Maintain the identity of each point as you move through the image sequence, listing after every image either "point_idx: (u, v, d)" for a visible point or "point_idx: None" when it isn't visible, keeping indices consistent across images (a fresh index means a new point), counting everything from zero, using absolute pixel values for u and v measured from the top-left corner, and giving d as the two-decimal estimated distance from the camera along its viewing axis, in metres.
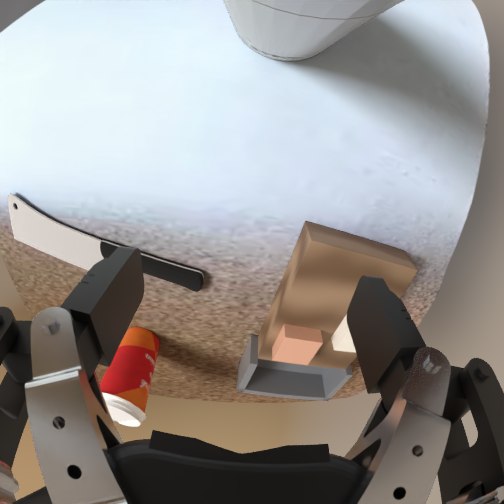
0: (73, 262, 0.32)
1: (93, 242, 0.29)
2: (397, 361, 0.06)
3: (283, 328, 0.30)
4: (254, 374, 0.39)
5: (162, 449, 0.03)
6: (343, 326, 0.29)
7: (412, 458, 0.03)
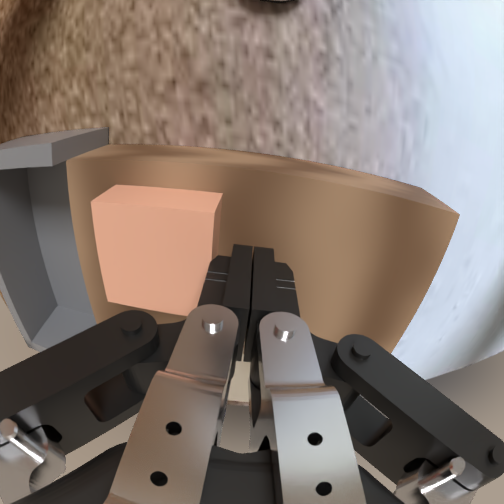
0: None
1: None
2: (257, 325, 0.07)
3: (212, 196, 0.10)
4: (11, 178, 0.12)
5: None
6: None
7: (313, 449, 0.03)
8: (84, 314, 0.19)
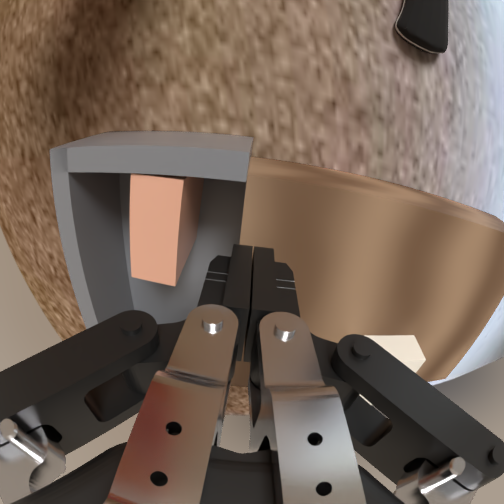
0: None
1: None
2: (257, 325, 0.07)
3: (173, 176, 0.09)
4: (105, 183, 0.12)
5: None
6: (398, 346, 0.13)
7: (314, 449, 0.03)
8: None
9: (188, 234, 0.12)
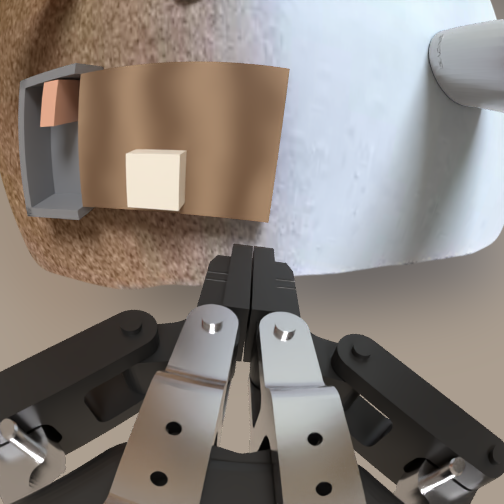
0: None
1: None
2: (257, 325, 0.07)
3: (56, 80, 0.16)
4: None
5: None
6: (164, 151, 0.20)
7: (313, 449, 0.03)
8: (72, 194, 0.26)
9: (67, 109, 0.19)
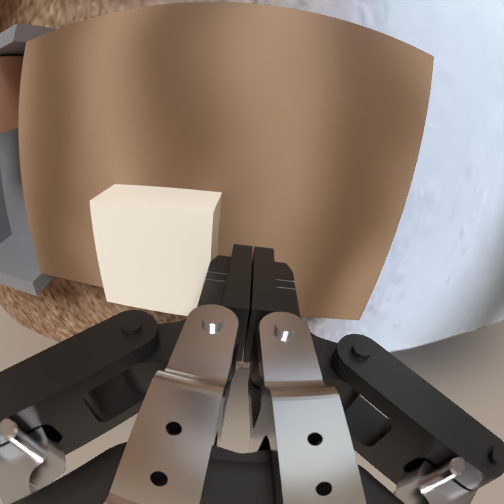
0: None
1: None
2: (258, 325, 0.07)
3: None
4: None
5: None
6: (175, 195, 0.09)
7: (313, 449, 0.03)
8: None
9: (9, 107, 0.09)
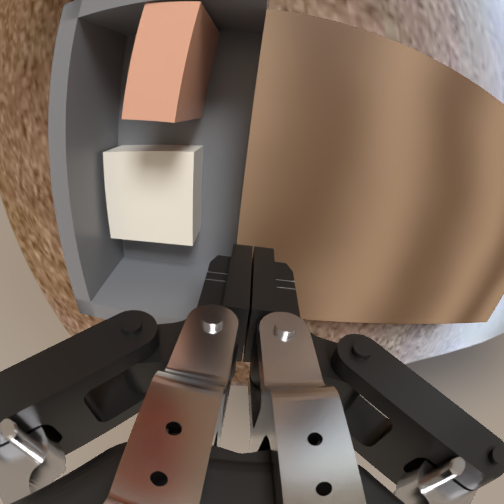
0: None
1: None
2: (257, 325, 0.07)
3: None
4: (108, 55, 0.09)
5: None
6: (139, 148, 0.12)
7: (313, 449, 0.03)
8: (170, 263, 0.16)
9: (195, 86, 0.09)
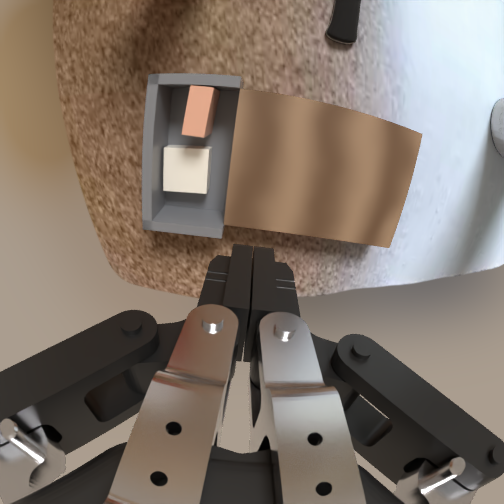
0: None
1: None
2: (257, 325, 0.07)
3: (208, 87, 0.20)
4: (166, 99, 0.22)
5: None
6: (181, 146, 0.25)
7: (314, 448, 0.03)
8: (191, 208, 0.29)
9: (210, 121, 0.23)
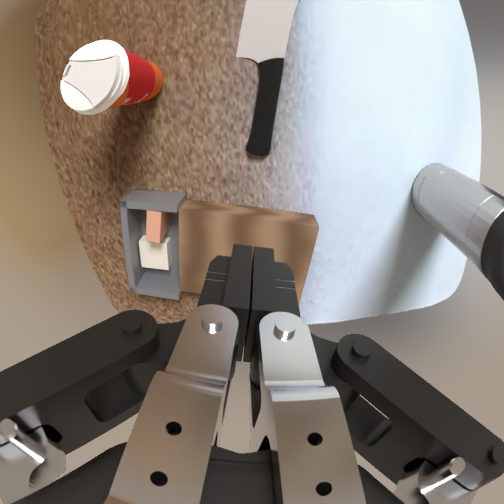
0: (244, 20, 0.25)
1: (280, 49, 0.27)
2: (257, 325, 0.07)
3: None
4: (136, 209, 0.36)
5: None
6: None
7: (313, 449, 0.03)
8: (162, 274, 0.43)
9: (164, 227, 0.37)
